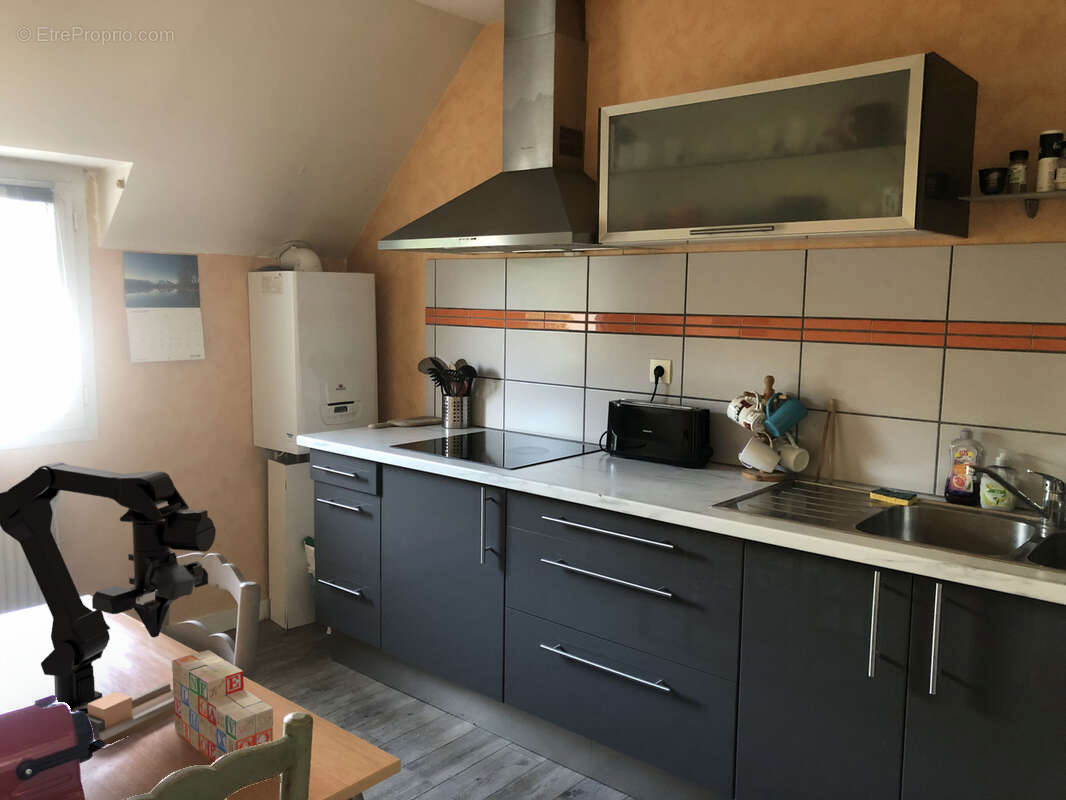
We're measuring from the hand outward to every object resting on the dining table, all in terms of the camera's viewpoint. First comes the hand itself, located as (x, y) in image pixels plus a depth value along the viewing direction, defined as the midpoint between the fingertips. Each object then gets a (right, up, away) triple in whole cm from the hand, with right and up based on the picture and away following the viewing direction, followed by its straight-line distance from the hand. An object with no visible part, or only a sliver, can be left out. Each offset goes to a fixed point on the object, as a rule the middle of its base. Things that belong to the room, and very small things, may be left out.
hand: (154, 636), depth 145 cm
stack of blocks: (+16, -15, -11) cm, 24 cm away
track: (-2, -13, -3) cm, 14 cm away
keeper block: (-4, -12, -7) cm, 15 cm away
